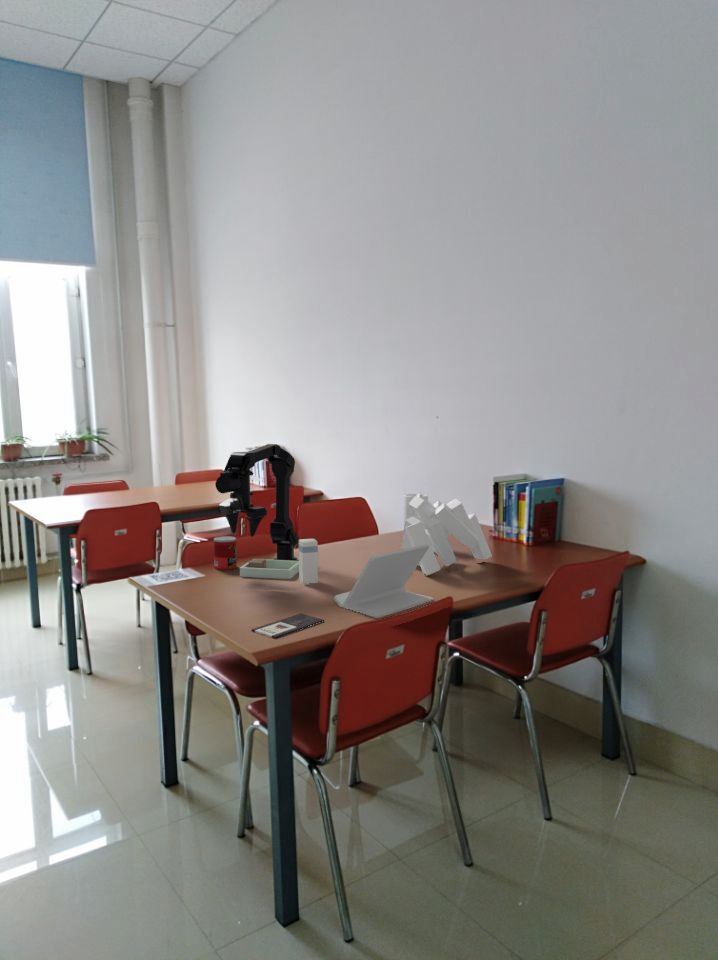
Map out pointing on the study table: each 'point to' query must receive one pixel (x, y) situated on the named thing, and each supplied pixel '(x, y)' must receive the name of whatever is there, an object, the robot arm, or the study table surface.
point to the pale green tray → (272, 569)
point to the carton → (308, 561)
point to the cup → (407, 509)
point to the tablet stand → (385, 584)
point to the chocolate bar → (286, 625)
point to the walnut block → (257, 563)
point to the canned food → (225, 553)
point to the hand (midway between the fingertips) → (242, 534)
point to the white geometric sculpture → (442, 532)
